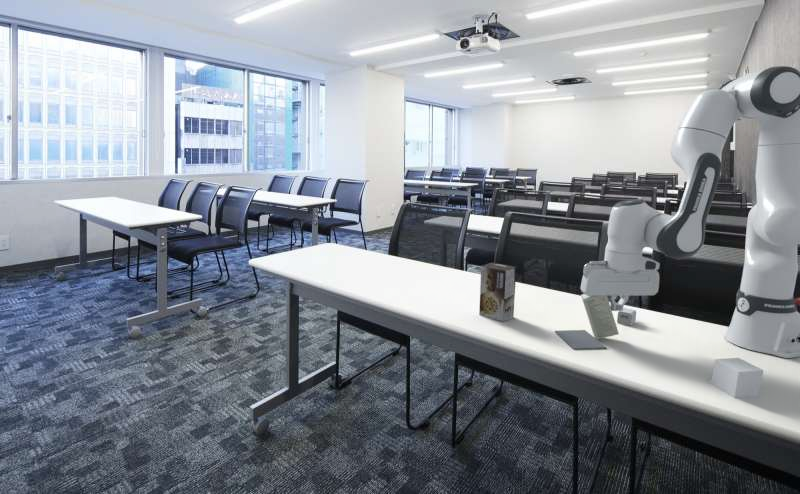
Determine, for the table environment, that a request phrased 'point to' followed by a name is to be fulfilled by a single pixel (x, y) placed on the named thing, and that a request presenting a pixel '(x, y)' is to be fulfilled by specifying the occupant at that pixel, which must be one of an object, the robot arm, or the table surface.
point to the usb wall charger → (626, 317)
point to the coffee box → (497, 291)
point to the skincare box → (600, 316)
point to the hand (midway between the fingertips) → (616, 310)
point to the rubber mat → (580, 339)
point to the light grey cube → (737, 377)
